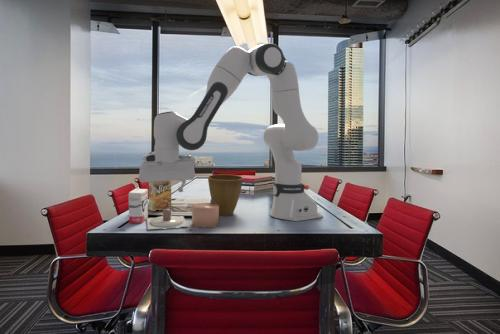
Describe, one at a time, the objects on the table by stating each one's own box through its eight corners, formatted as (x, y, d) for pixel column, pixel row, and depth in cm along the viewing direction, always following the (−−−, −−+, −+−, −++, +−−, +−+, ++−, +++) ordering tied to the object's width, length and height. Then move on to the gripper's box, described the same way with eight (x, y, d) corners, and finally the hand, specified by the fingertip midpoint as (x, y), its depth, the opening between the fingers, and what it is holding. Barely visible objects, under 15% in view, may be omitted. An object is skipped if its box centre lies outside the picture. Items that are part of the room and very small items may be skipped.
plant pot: (200, 214, 135) (200, 177, 133) (219, 207, 148) (220, 173, 146) (230, 220, 128) (231, 180, 126) (248, 212, 141) (249, 176, 139)
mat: (183, 217, 130) (183, 215, 130) (188, 227, 117) (188, 226, 117) (146, 219, 125) (146, 218, 125) (147, 230, 112) (147, 228, 112)
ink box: (141, 223, 120) (141, 192, 119) (128, 223, 120) (128, 192, 119) (148, 217, 129) (148, 188, 127) (135, 217, 129) (135, 188, 127)
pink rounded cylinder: (215, 219, 128) (215, 202, 128) (221, 226, 119) (221, 208, 118) (190, 221, 125) (190, 203, 124) (194, 228, 116) (194, 210, 115)
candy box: (151, 211, 137) (151, 176, 135) (148, 209, 141) (148, 175, 139) (171, 209, 142) (171, 175, 140) (168, 207, 146) (168, 174, 144)
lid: (181, 216, 129) (181, 205, 128) (185, 225, 117) (185, 212, 117) (149, 218, 125) (149, 206, 124) (151, 228, 113) (150, 214, 113)
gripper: (193, 154, 125) (194, 189, 127) (138, 155, 118) (139, 192, 120) (196, 156, 119) (196, 192, 121) (138, 157, 112) (139, 195, 114)
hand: (167, 192), depth 120 cm, fingers open, 8 cm apart
